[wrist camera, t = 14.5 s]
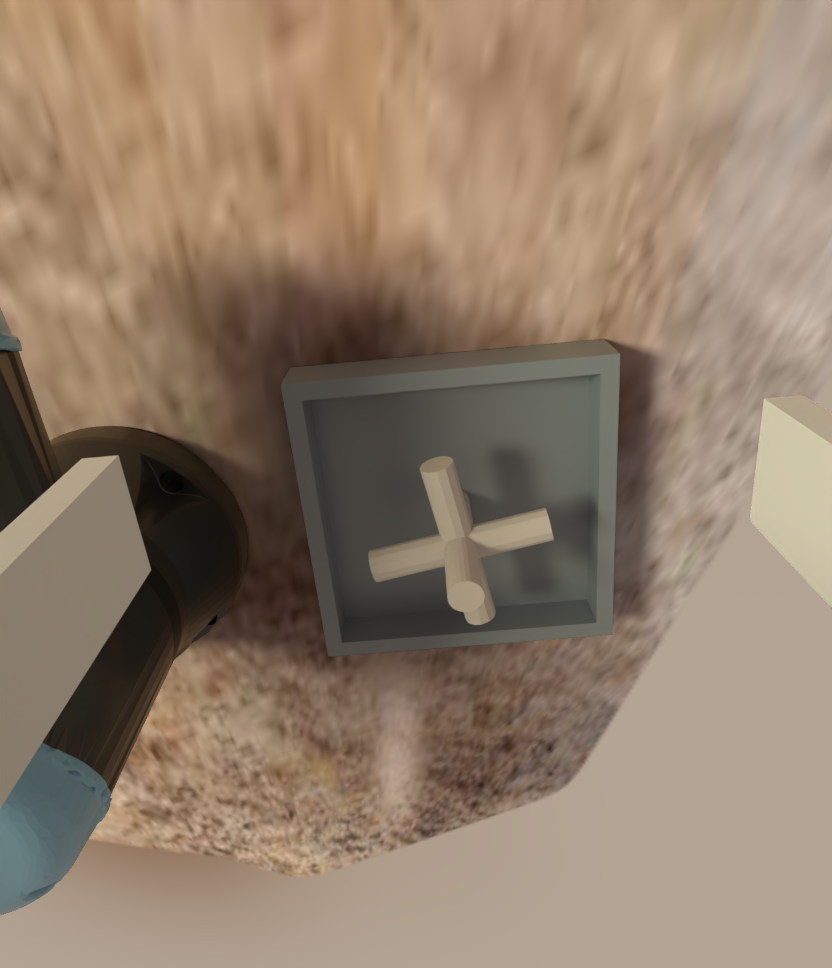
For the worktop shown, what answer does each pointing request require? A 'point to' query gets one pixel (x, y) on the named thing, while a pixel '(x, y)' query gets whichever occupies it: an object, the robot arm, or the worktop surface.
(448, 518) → the pipe connector
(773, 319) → the worktop surface
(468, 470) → the tray
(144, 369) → the worktop surface
